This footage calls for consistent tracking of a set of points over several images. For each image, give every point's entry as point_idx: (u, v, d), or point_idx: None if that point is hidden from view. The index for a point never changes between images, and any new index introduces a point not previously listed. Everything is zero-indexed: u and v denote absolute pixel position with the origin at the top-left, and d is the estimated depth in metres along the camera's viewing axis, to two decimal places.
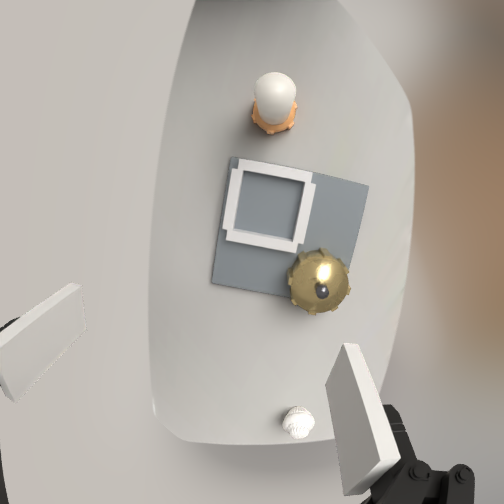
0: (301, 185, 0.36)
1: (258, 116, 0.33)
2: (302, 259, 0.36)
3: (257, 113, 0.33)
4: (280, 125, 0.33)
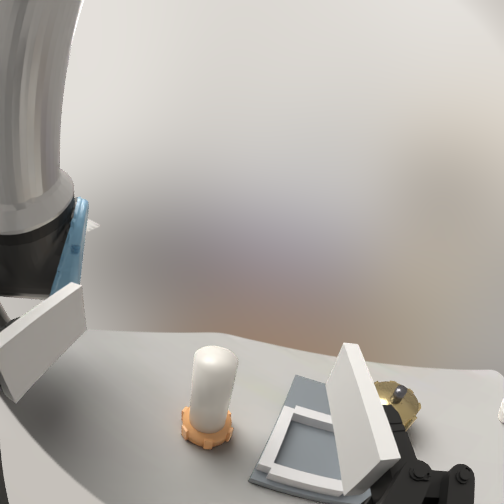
0: (294, 422, 0.29)
1: (209, 434, 0.25)
2: None
3: (205, 434, 0.25)
4: (226, 420, 0.27)
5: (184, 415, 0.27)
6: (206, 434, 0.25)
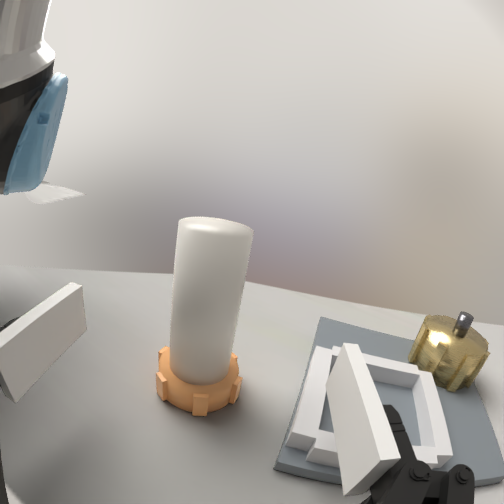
0: None
1: (201, 387, 0.16)
2: (439, 352, 0.19)
3: (194, 386, 0.16)
4: (230, 366, 0.18)
5: (162, 357, 0.17)
6: (197, 386, 0.15)
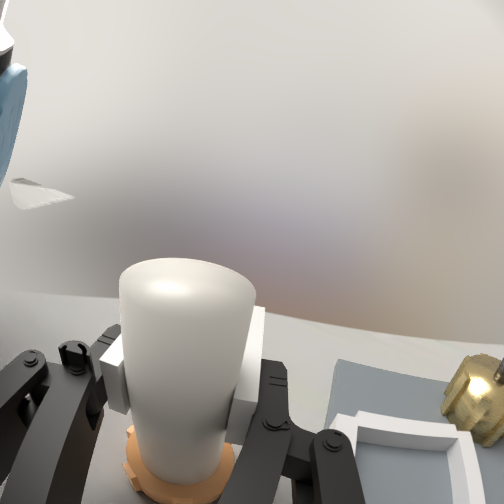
0: (356, 443, 0.13)
1: (183, 488, 0.09)
2: (482, 408, 0.12)
3: (174, 487, 0.09)
4: (223, 453, 0.11)
5: (130, 441, 0.11)
6: (177, 487, 0.09)
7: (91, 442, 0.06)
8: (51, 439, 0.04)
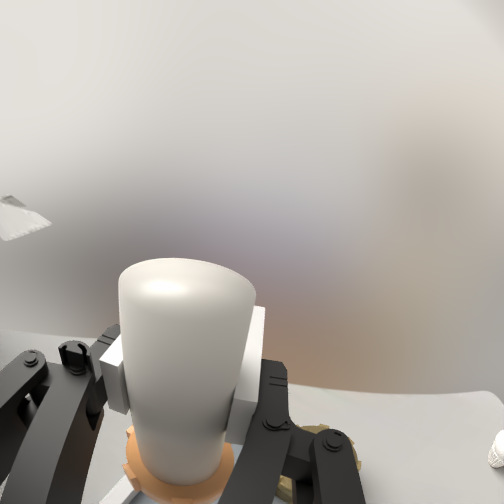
0: None
1: (183, 489, 0.09)
2: None
3: (173, 488, 0.09)
4: (223, 453, 0.11)
5: (130, 441, 0.11)
6: (177, 488, 0.09)
7: (91, 442, 0.06)
8: (51, 439, 0.04)
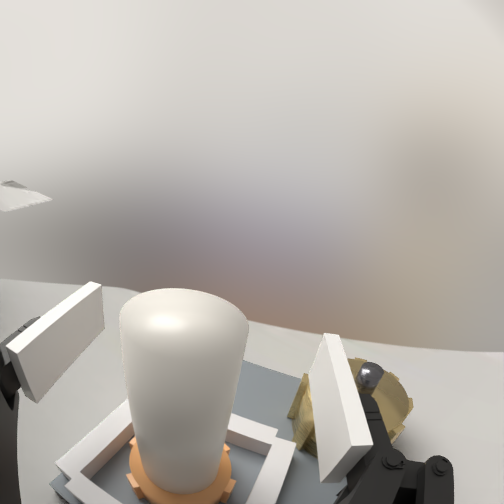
0: None
1: (183, 497, 0.09)
2: (309, 420, 0.14)
3: (174, 496, 0.09)
4: (220, 463, 0.12)
5: (133, 452, 0.11)
6: (177, 496, 0.09)
7: (12, 421, 0.05)
8: None
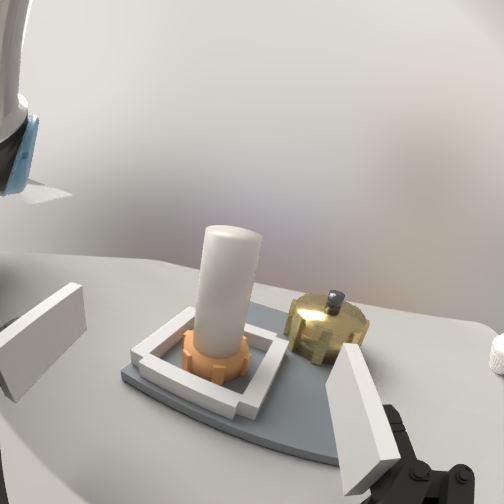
0: None
1: (219, 360, 0.20)
2: (297, 323, 0.26)
3: (214, 359, 0.20)
4: (241, 344, 0.23)
5: (186, 338, 0.22)
6: (216, 359, 0.20)
7: None
8: None
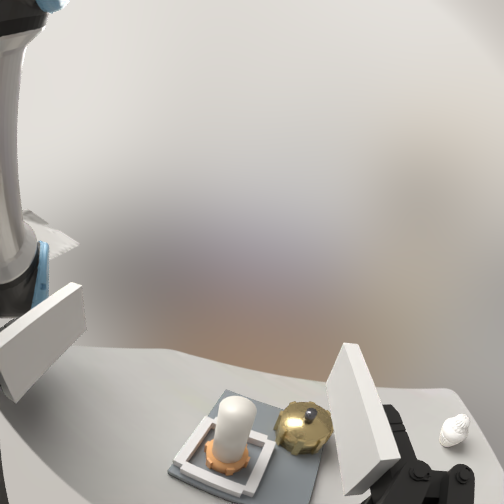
0: (214, 430, 0.34)
1: (230, 464, 0.27)
2: (281, 432, 0.32)
3: (227, 464, 0.27)
4: (244, 450, 0.30)
5: (207, 449, 0.29)
6: (228, 464, 0.27)
7: None
8: None
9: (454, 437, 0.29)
